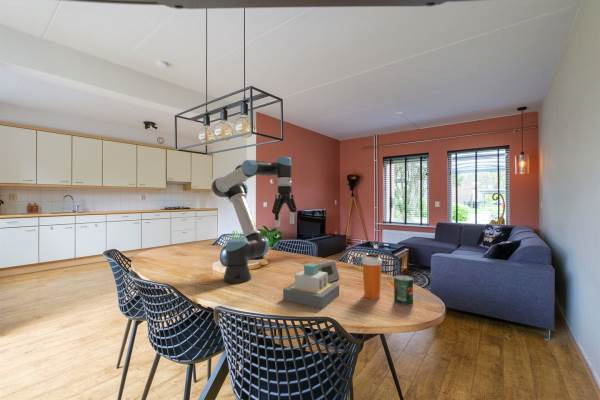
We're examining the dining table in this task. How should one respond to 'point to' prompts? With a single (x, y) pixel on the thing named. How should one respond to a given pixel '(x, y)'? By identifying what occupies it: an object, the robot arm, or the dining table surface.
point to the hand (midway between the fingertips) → (285, 225)
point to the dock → (311, 295)
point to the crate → (311, 269)
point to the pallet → (311, 281)
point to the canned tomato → (403, 290)
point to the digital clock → (329, 270)
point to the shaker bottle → (372, 275)
